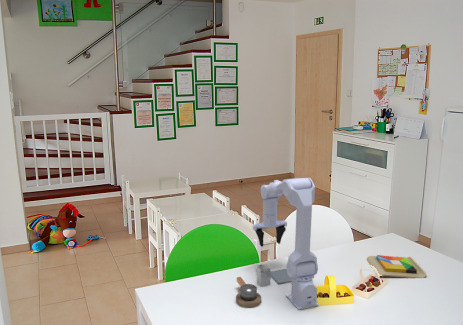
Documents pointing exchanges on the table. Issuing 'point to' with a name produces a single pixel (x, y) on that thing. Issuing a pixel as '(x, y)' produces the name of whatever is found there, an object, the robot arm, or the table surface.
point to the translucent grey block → (263, 275)
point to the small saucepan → (247, 290)
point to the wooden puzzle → (396, 266)
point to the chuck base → (248, 303)
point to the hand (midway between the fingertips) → (269, 244)
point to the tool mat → (281, 276)
